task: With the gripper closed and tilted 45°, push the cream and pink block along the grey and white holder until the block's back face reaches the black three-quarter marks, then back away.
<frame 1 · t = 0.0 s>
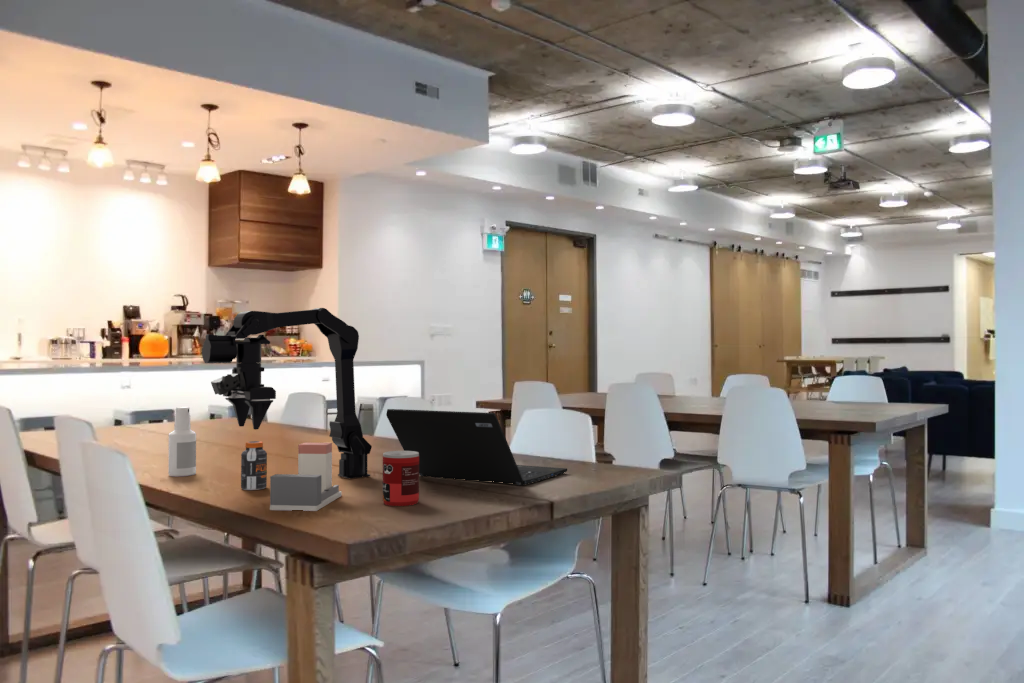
hand: (248, 427, 190), 15 cm above the table, tool pointing down, fingers open, 9 cm apart
spray bottle: (182, 475, 211), on the table
canned food: (400, 503, 173), on the table
grey and white holder: (308, 501, 175), on the table
pill bottle: (253, 489, 191), on the table
cream and pink block: (315, 468, 179), point 7 cm above the table, slide at 0.0 cm
laptop: (479, 480, 206), on the table
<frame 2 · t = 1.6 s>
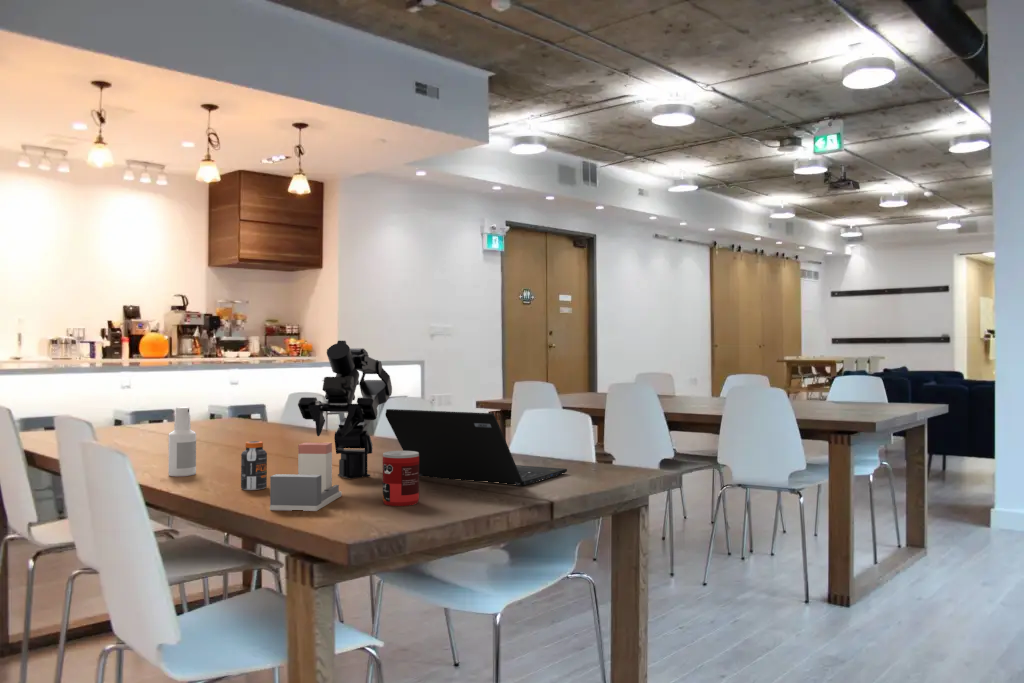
hand: (330, 435, 189), 13 cm above the table, tool tilted 45°, fingers open, 6 cm apart
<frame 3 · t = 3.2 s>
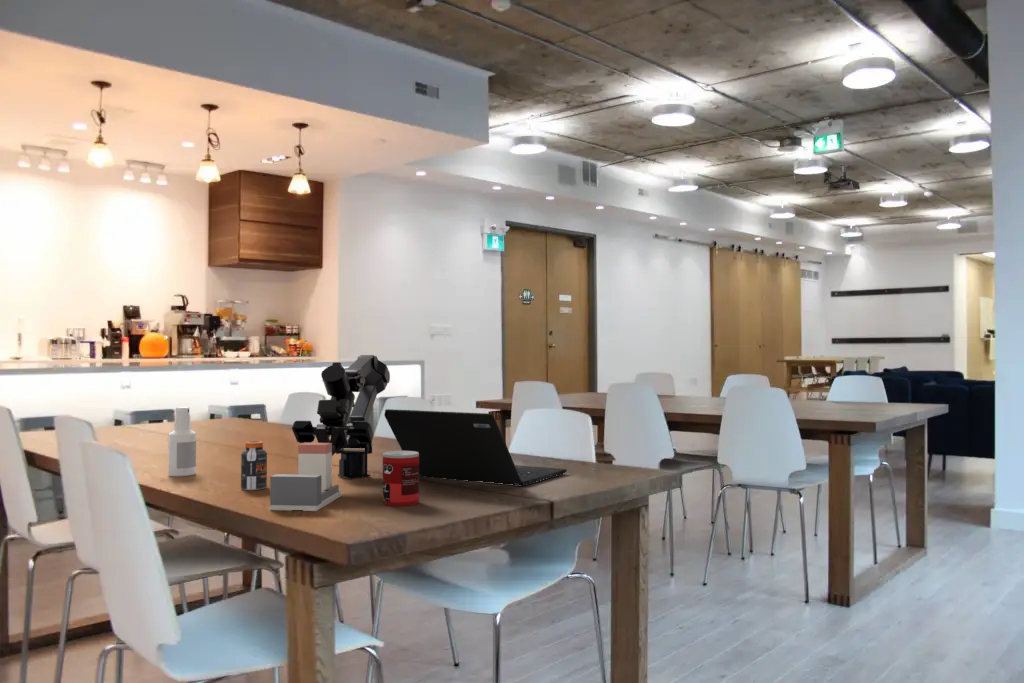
hand: (324, 459, 185), 8 cm above the table, tool tilted 45°, fingers closed
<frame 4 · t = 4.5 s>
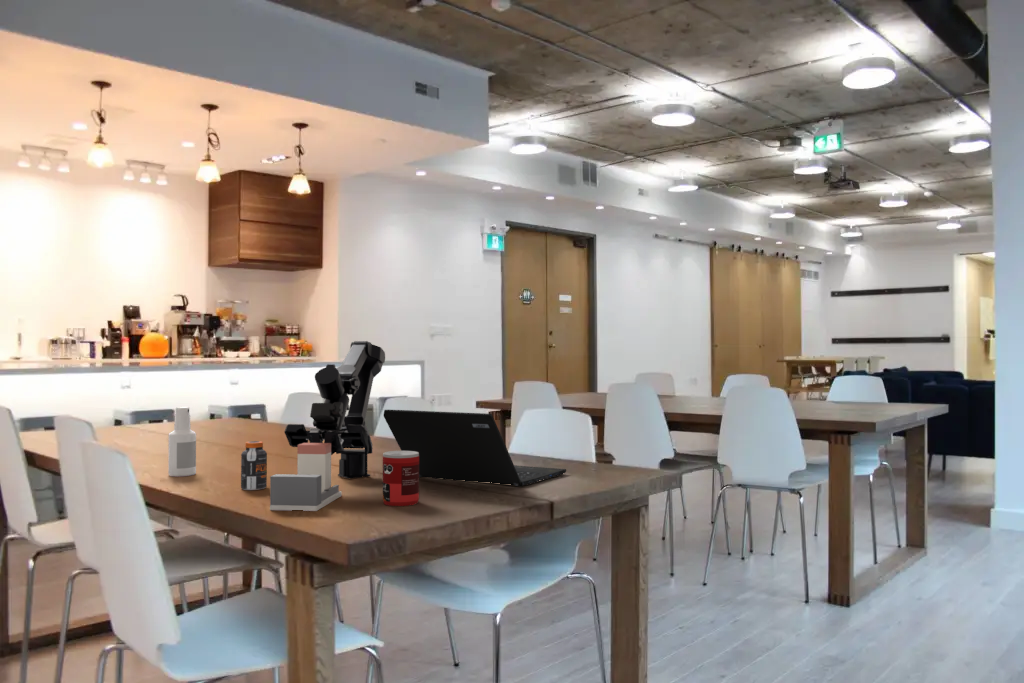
hand: (317, 464, 180), 7 cm above the table, tool tilted 45°, fingers closed, pressing on cream and pink block
cream and pink block: (314, 468, 178), point 7 cm above the table, slide at 0.5 cm, touching gripper
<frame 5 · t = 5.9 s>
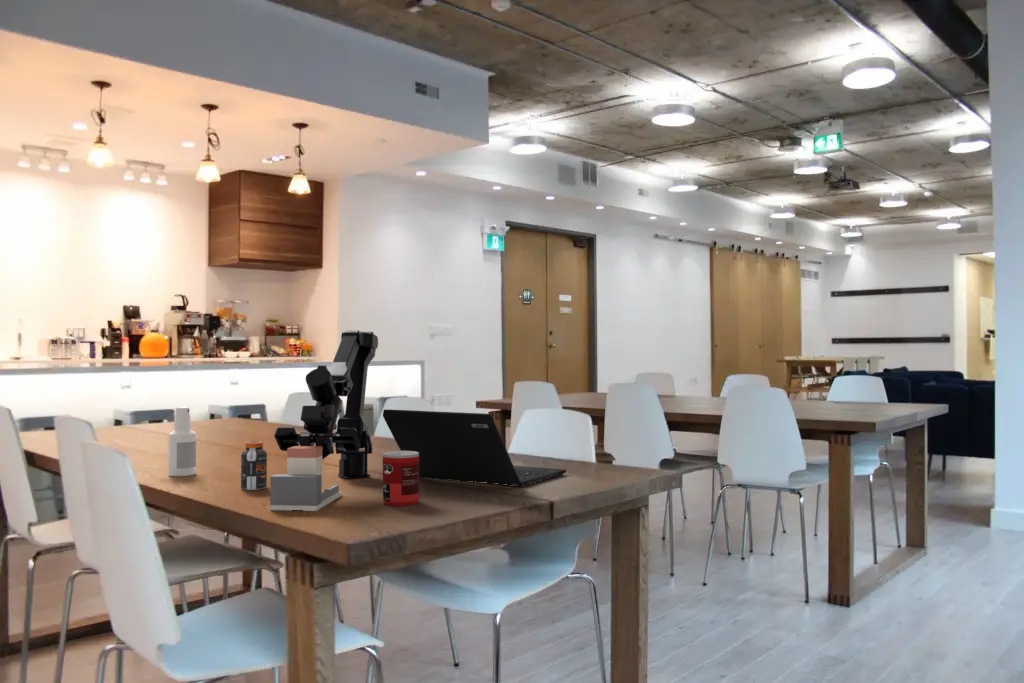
hand: (308, 469, 174), 7 cm above the table, tool tilted 45°, fingers closed
cream and pink block: (304, 472, 172), point 7 cm above the table, slide at 6.5 cm
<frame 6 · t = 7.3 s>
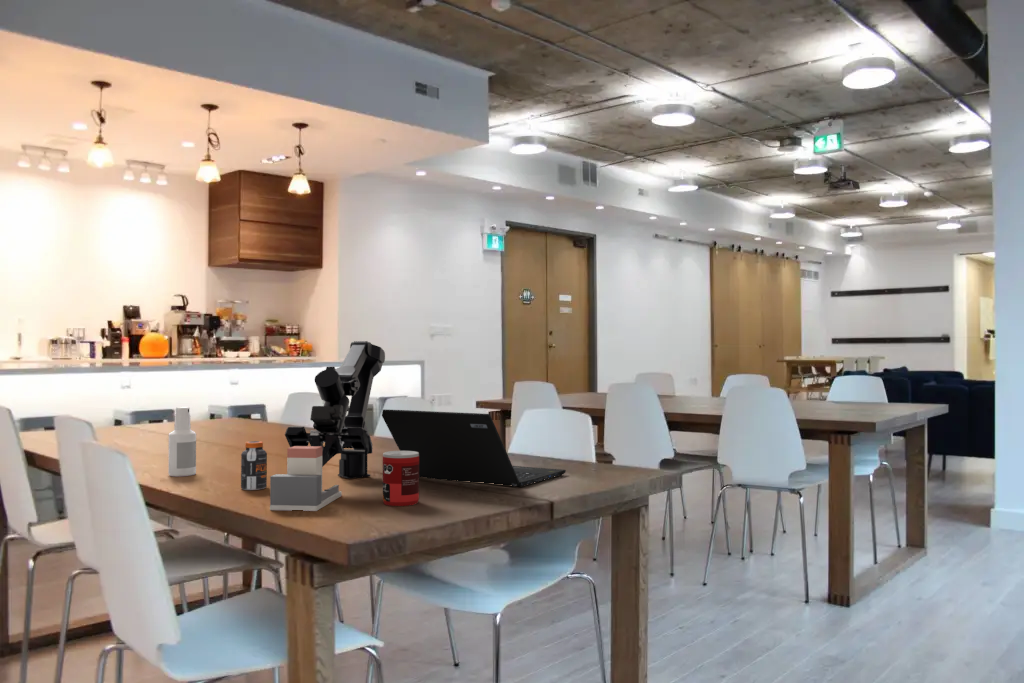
hand: (318, 467, 181), 7 cm above the table, tool tilted 45°, fingers closed
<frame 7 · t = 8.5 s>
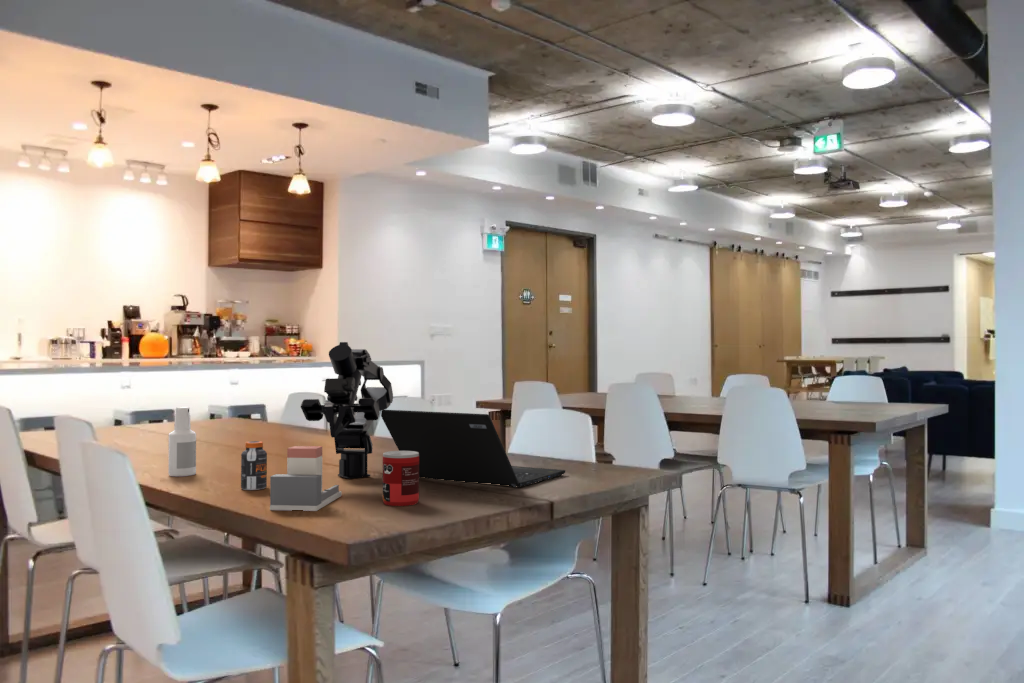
hand: (332, 436, 191), 13 cm above the table, tool tilted 45°, fingers closed
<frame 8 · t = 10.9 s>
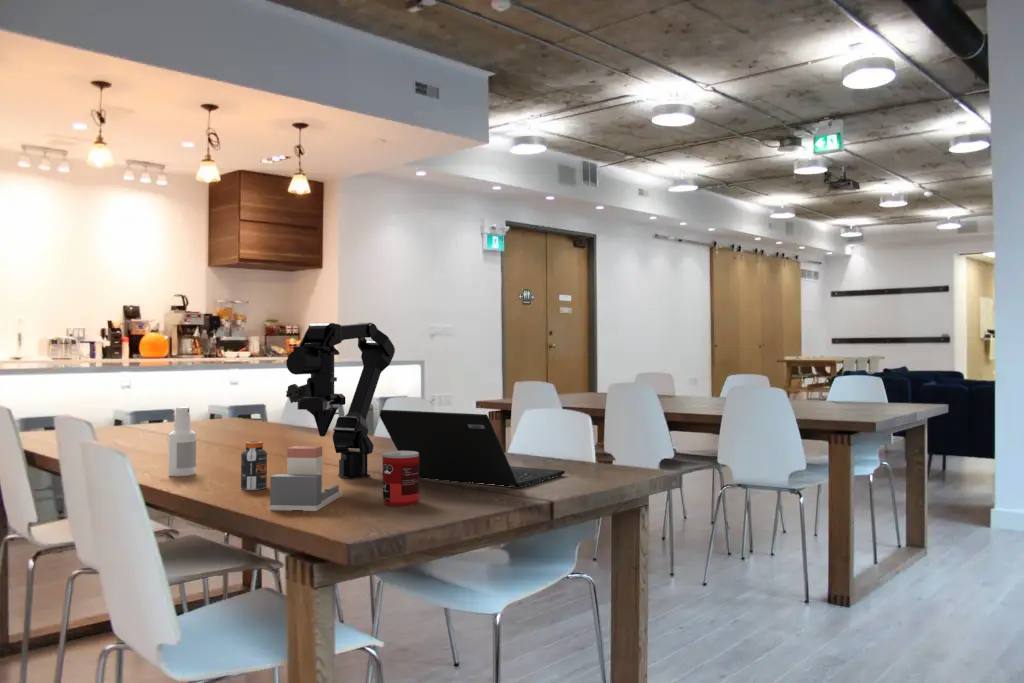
hand: (322, 436, 196), 12 cm above the table, tool pointing down, fingers closed
at the end: cream and pink block slide at 6.5 cm; pill bottle moved 0.2 cm from its start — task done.
